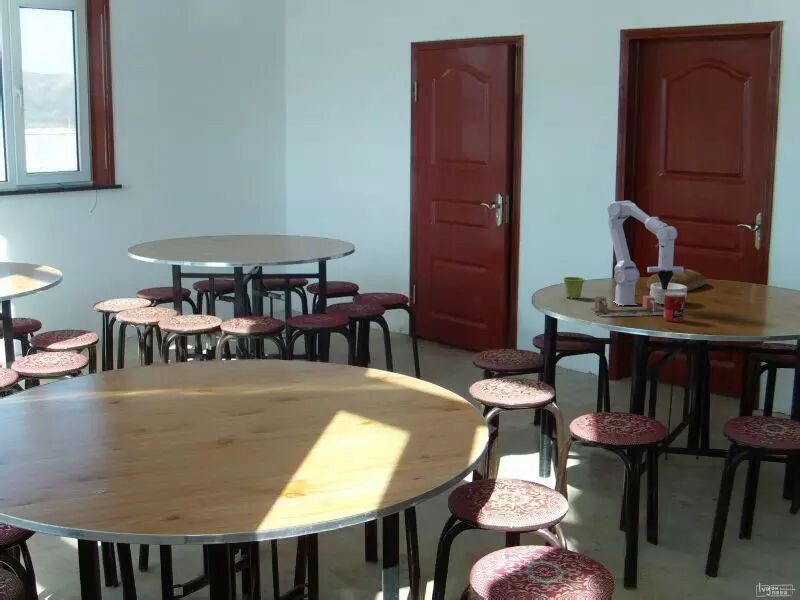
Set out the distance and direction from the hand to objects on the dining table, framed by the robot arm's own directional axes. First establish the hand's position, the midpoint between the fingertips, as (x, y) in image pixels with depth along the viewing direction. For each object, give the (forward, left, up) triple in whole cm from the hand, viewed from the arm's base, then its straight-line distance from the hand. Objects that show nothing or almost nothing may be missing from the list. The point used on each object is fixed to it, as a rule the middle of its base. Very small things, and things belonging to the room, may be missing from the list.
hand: (664, 289), depth 407 cm
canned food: (+18, -3, -10) cm, 20 cm away
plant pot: (-33, -29, -10) cm, 45 cm away
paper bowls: (-17, +8, -10) cm, 21 cm away
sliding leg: (+2, -7, -8) cm, 10 cm away
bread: (-56, +27, -10) cm, 63 cm away
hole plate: (+6, -15, -9) cm, 18 cm away
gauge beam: (+2, -14, -9) cm, 17 cm away
